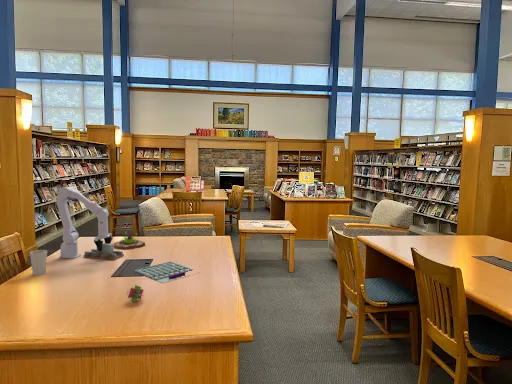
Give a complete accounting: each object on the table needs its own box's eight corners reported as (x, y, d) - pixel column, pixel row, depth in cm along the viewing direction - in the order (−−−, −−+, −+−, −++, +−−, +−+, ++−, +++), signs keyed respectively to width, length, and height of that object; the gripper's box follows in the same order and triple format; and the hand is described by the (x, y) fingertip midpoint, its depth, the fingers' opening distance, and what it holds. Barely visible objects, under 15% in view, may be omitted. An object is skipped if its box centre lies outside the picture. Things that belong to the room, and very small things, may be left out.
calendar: (174, 262, 222) (174, 259, 221) (204, 272, 203) (204, 268, 203) (134, 272, 202) (134, 268, 202) (162, 284, 183) (162, 279, 183)
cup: (28, 273, 195) (27, 251, 194) (45, 270, 201) (44, 249, 200) (33, 277, 190) (32, 254, 188) (50, 273, 195) (49, 251, 194)
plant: (108, 246, 257) (107, 231, 256) (131, 242, 273) (131, 227, 272) (125, 251, 245) (125, 235, 244) (149, 246, 261) (148, 230, 260)
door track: (83, 257, 228) (83, 252, 228) (94, 253, 238) (93, 248, 237) (114, 260, 223) (114, 254, 223) (123, 255, 233) (123, 251, 232)
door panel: (113, 254, 230) (113, 244, 230) (110, 256, 227) (110, 245, 227) (99, 253, 233) (99, 242, 232) (96, 254, 230) (96, 243, 229)
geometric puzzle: (141, 290, 166) (132, 279, 162) (150, 294, 162) (141, 283, 158) (130, 303, 162) (120, 292, 158) (139, 307, 158) (129, 296, 154)
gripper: (101, 231, 221) (101, 253, 222) (115, 226, 235) (116, 247, 236) (91, 230, 222) (91, 252, 224) (106, 226, 236) (106, 246, 238)
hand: (103, 249), depth 230 cm, fingers open, 7 cm apart
